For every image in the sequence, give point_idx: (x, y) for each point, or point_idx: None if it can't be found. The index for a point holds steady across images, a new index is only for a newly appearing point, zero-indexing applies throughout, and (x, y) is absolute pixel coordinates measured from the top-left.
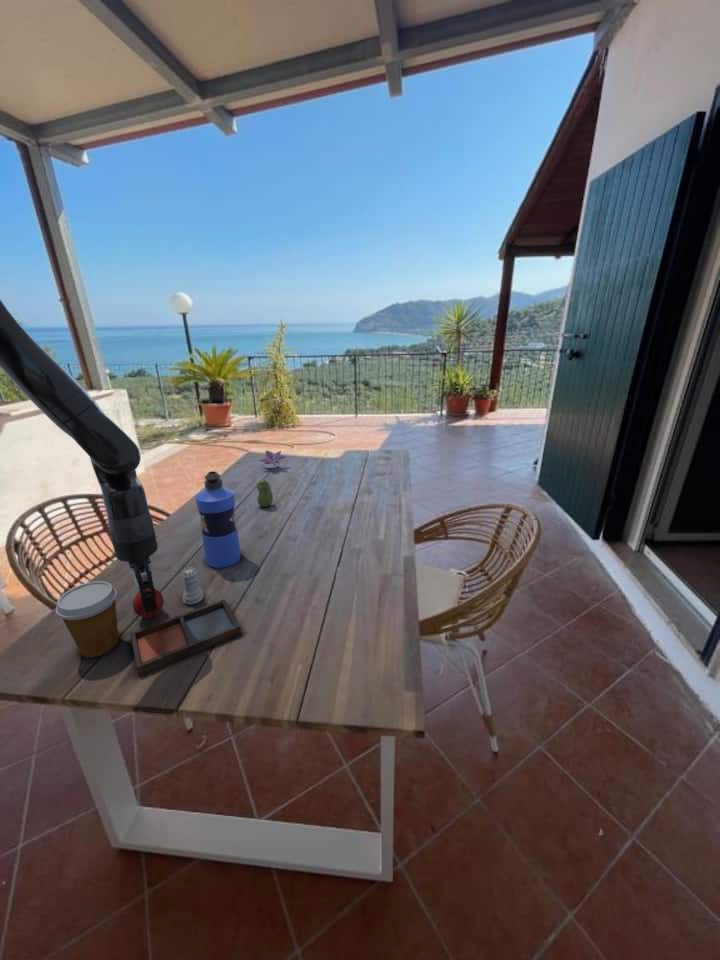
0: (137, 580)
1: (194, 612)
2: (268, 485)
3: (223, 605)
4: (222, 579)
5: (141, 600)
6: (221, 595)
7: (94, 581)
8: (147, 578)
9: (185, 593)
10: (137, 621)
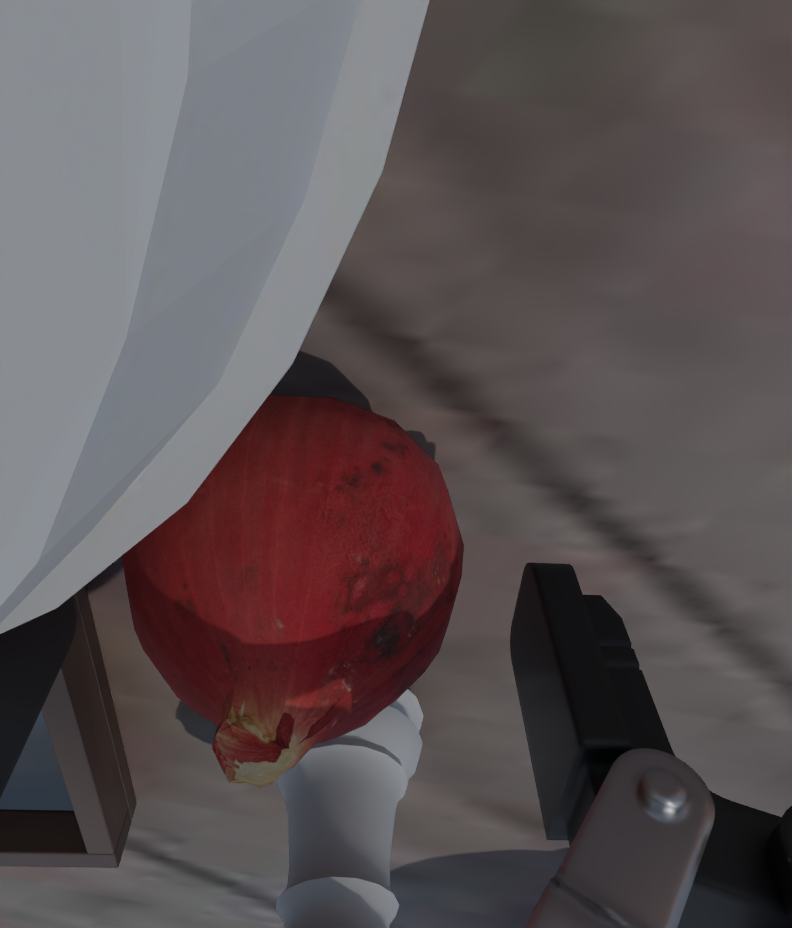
0: (567, 704)
1: (51, 728)
2: None
3: (53, 846)
4: (461, 847)
5: (160, 593)
6: (280, 811)
7: (143, 319)
8: (538, 773)
9: (328, 751)
10: (321, 332)
